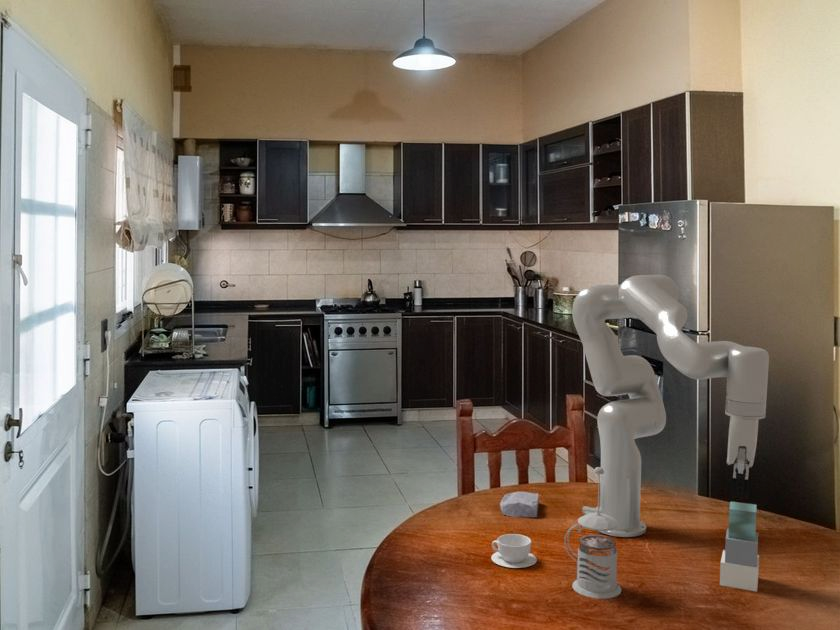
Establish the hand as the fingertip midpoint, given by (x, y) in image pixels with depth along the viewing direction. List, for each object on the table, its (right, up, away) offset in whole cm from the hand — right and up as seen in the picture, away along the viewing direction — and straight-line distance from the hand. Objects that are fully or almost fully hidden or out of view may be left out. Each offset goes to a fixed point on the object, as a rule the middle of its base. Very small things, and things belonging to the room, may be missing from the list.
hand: (740, 489), depth 159 cm
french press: (-31, -20, -1) cm, 36 cm away
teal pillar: (0, -9, 0) cm, 9 cm away
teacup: (-45, -19, +13) cm, 50 cm away
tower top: (0, -14, +1) cm, 14 cm away
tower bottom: (0, -19, +1) cm, 19 cm away
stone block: (-40, -16, +45) cm, 62 cm away
